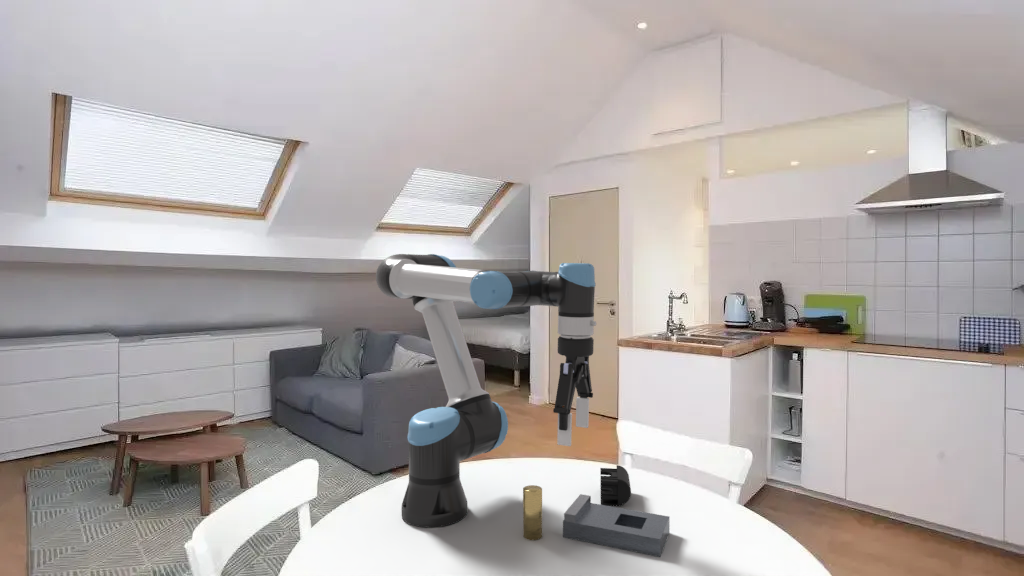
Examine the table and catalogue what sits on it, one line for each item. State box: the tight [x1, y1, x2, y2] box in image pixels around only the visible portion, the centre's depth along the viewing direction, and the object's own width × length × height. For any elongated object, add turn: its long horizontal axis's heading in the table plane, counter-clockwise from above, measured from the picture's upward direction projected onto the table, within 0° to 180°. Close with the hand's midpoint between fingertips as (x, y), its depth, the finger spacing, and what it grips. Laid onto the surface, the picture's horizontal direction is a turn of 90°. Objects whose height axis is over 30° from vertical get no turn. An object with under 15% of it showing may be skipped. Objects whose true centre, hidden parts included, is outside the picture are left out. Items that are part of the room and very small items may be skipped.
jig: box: [562, 493, 670, 558], centre depth 117 cm, size 20×11×5 cm, turn 65°
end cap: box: [599, 465, 632, 507], centre depth 135 cm, size 10×7×7 cm
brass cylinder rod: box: [522, 484, 543, 541], centre depth 116 cm, size 4×4×10 cm
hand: (573, 435), depth 118 cm, fingers open, 13 cm apart
